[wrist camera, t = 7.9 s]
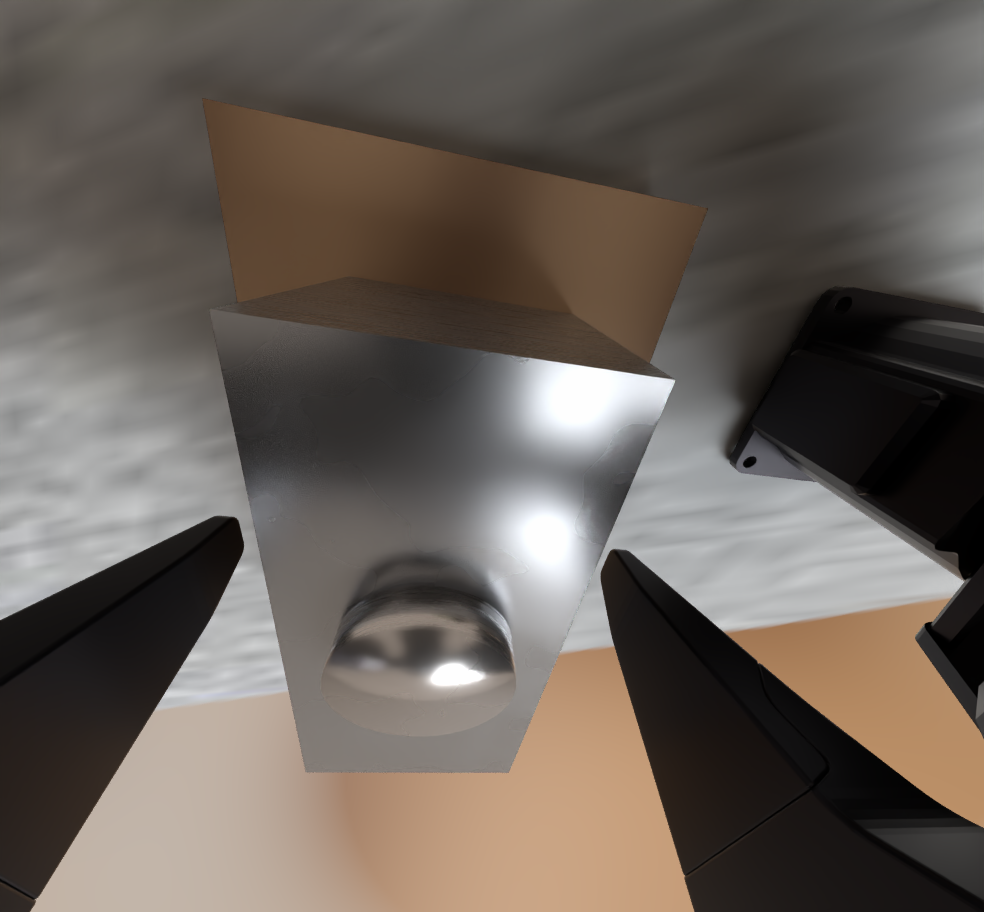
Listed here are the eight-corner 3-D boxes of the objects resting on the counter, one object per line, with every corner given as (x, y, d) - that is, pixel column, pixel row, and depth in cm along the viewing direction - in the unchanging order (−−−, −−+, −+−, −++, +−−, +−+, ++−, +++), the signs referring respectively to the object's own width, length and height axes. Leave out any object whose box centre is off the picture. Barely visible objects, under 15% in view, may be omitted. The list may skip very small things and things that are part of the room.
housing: (496, 611, 14) (511, 812, 9) (358, 602, 13) (292, 815, 8) (573, 313, 9) (714, 404, 4) (348, 275, 8) (149, 324, 3)
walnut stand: (656, 216, 10) (708, 208, 8) (531, 602, 18) (540, 651, 16) (268, 135, 9) (202, 98, 6) (318, 588, 16) (295, 640, 14)
